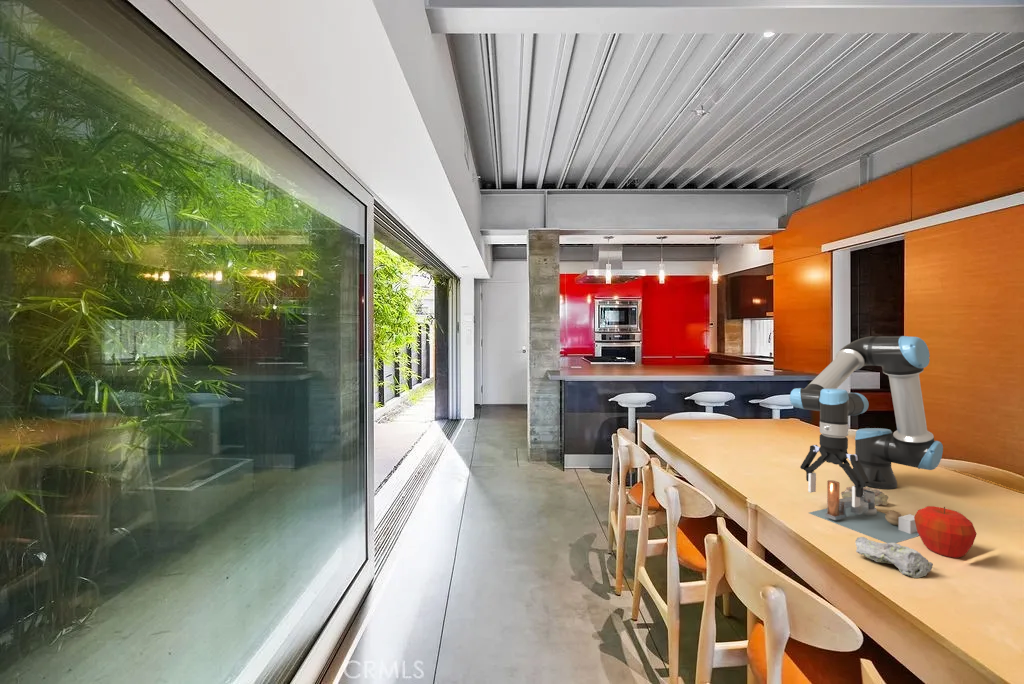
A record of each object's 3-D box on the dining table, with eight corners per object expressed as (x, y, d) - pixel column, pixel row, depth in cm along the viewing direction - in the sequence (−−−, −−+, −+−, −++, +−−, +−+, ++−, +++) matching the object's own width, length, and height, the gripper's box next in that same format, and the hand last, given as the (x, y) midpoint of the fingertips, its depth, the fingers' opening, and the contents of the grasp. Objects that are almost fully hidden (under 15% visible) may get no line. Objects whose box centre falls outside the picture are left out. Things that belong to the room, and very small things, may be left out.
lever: (861, 506, 149) (861, 472, 149) (881, 512, 143) (881, 477, 143) (822, 515, 141) (822, 480, 141) (842, 522, 136) (842, 486, 136)
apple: (902, 544, 125) (902, 498, 125) (943, 545, 125) (944, 498, 125) (944, 567, 113) (944, 515, 113) (989, 568, 113) (990, 516, 112)
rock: (891, 495, 149) (874, 481, 158) (854, 493, 151) (840, 479, 161) (889, 513, 150) (872, 498, 160) (853, 511, 152) (838, 496, 162)
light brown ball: (890, 520, 139) (890, 507, 139) (906, 526, 135) (906, 512, 135) (882, 523, 137) (882, 509, 137) (898, 528, 133) (898, 515, 133)
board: (851, 505, 154) (851, 491, 154) (937, 534, 132) (937, 517, 132) (807, 516, 146) (807, 501, 145) (890, 548, 123) (891, 531, 123)
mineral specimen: (851, 560, 117) (851, 536, 117) (856, 552, 122) (856, 529, 122) (930, 585, 105) (930, 558, 105) (931, 574, 110) (931, 548, 110)
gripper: (789, 428, 150) (788, 487, 150) (869, 445, 126) (869, 515, 127) (803, 427, 152) (803, 485, 153) (884, 443, 129) (884, 511, 129)
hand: (833, 498), depth 140 cm, fingers open, 13 cm apart
